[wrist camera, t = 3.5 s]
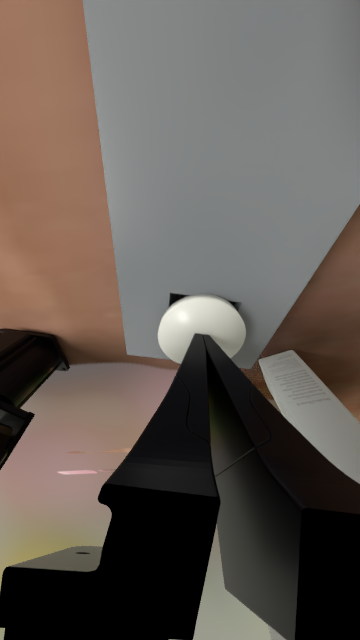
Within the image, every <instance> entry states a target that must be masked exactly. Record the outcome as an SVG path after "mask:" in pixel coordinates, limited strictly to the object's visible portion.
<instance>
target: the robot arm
mask: <svg viewBox="0 0 360 640" xmlns="http://www.w3.org/2000/svg"><path fill="white" fill-rule="evenodd" d="M69 368H70V367H69V365H68V363H67V361H66V359H65V357H64V355H63V353H62V351H61V349H60V347H59V345H58V343H57V341H56V339H55V337H54V336H52V335H49V334H41V333H32V332H24V331H16V330H7V329H0V470H1V468H2V467H3V465H4V464H5V462H6V461H7V459H8V457H9V456H10V454H11V452H12V451H13V449H14V447H15V446H16V444H17V443H18V441H19V440H20V438H21V436H22V435H23V433H24V431H25V430H26V428H27V427H28V425H29V423H30V422H31V420H32V419H33V417H34V415H35V414H33V413H31V412H27V411H24V410H22V409H20V408H21V406H23V404H24V403H25V402H26V401H27V400H28V399H29V398H30V397H31V396H32V395H33V394H34V393H35V392H36V391H37V389H38V388H39V387H40V386H41V385H42V384H43V383H44V382H45V381H46V379H48V378H49V377H50V375H51V374H52V373H53V372H54V371H55V370H60V371H67V370H68V369H69ZM98 501H99V502H100V503H101V504H104V505H107V506H108V507H109V508H110V510H111V512H112V518H111V521H110V525H109V528H108V531H107V535H106V538H105V542H104V545H103V547H94V546H77V547H71V548H67V549H64V550H61V551H58V552H54V553H51V554H48V555H45V556H41V557H38V558H35V559H32V560H28V561H25V562H22V563H18V564H15V565H12V566H9V567H6V568H5V570H4V571H3V575H2V583H1V591H0V628H5V634H4V640H168V639H177V640H193V636H194V631H195V625H196V620H197V616H198V610H199V606H200V601H201V596H202V591H203V586H204V582H205V577H206V572H207V567H208V562H209V557H210V552H211V548H212V543H213V537H214V533H215V529H216V524H217V528H218V536H219V543H220V544H219V545H220V553H221V561H222V568H223V577H224V584H225V589H226V590H227V591H228V592H230V593H231V594H232V595H233V596H234V597H236V598H237V599H238V600H239V601H240V602H242V603H243V604H244V605H245V606H246V607H247V608H249V609H250V610H251V611H252V612H253V613H255V614H256V615H257V616H258V617H259V618H261V619H262V620H263V621H264V622H265V623H267V624H268V627H269V633H270V637H271V640H360V484H359V483H358V482H356V481H355V480H353V479H352V478H350V477H349V476H347V475H346V474H345V473H344V472H342V471H341V470H340V469H338V468H337V467H336V466H335V465H334V464H332V463H331V462H330V461H329V460H328V459H327V458H326V457H325V456H324V455H323V454H321V453H320V452H319V451H318V450H317V449H316V448H315V447H314V446H313V445H312V444H311V443H310V442H309V441H308V440H307V439H306V438H305V437H304V436H303V435H302V434H301V433H300V432H299V431H298V430H297V429H296V428H295V427H294V426H293V425H292V424H291V423H290V422H289V421H288V420H287V419H286V418H285V417H284V416H283V415H282V414H281V413H280V412H279V411H277V409H276V408H275V407H274V406H273V405H272V404H271V403H270V402H269V401H268V400H267V399H266V398H265V397H264V396H263V394H262V393H261V392H260V391H259V390H258V389H257V388H256V387H255V386H254V385H252V382H251V381H250V380H249V379H248V378H247V377H246V376H245V374H244V373H243V372H242V371H241V370H240V369H239V368H238V367H237V365H236V364H235V363H234V362H233V361H232V360H231V359H230V358H229V357H228V355H227V354H226V353H225V352H224V351H223V350H222V349H221V348H220V346H219V345H218V344H217V343H216V342H215V341H214V340H213V339H212V337H211V336H210V335H207V334H199V333H195V334H194V336H193V338H192V340H191V342H190V345H189V347H188V349H187V351H186V354H185V356H184V358H183V360H182V362H181V365H180V367H179V369H178V371H177V374H176V376H175V378H174V380H173V382H172V384H171V386H170V388H169V390H168V392H167V394H166V396H165V397H164V399H163V401H162V402H161V404H160V406H159V407H158V409H157V411H156V412H155V414H154V415H153V417H152V418H151V420H150V422H149V423H148V425H147V426H146V428H145V429H144V431H143V433H142V434H141V436H140V437H139V439H138V441H137V442H136V443H135V445H134V446H133V448H132V449H131V451H130V452H129V453H128V455H127V456H126V458H125V459H124V460H123V462H122V463H121V464H120V465H119V467H118V468H117V469H116V470H115V471H114V473H113V474H112V475H111V476H110V478H109V479H108V480H107V481H106V482H105V483H104V485H103V486H102V488H101V491H100V493H99V496H98Z"/></svg>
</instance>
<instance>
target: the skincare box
mask: <svg viewBox="0 0 360 640" xmlns="http://www.w3.org/2000/svg"><path fill="white" fill-rule="evenodd" d="M258 361H259V364H260V367H261V370H262V373H263V376H264V379H265V382H266V385H267V386H268V388H269V390H270V392H271V394H272V396H273V398H274V400H275V401H276V403H277V405H278V407H279V409H280V411H281V412H282V415H283V416H284V417H285V418H286V419H287V420H288V421H289V422H290V423H291V424H292V425H293V426H294V427H295V428H296V429H297V430H298V431H299V432H300V433H301V434H302V435H303V436H304V437H305V438H306V439H307V440H308V441H309V442H310V443H311V444H312V445H313V446H314V447H315V448H316V449H317V450H318V451H319V452H320V453H321V454H323V455H324V456H325V457H326V458H327V459H328V460H329V461H330V462H331V463H332V464H334V465H335V466H336V467H337V468H338V469H340V470H341V471H342V472H344V473H345V474H346V475H347V476H349V477H350V478H352V479H353V480H355V481H356V482H358V483H359V484H360V422H359V421H358V420H357V419H356V418H355V417H354V416H353V415H352V414H351V413H350V412H349V410H348V409H347V408H346V407H345V406H344V405H343V404H342V403H341V402H340V401H339V399H338V398H337V397H336V396H335V395H334V394H333V393H332V392H331V391H330V390H329V389H328V387H327V386H326V385H325V384H324V383H323V382H322V381H321V380H320V379H319V378H318V377H317V375H316V374H315V373H314V372H313V371H312V370H311V369H310V368H309V367H308V366H307V365H306V363H305V362H304V361H303V360H302V359H301V358H300V357H299V356H298V355H297V354H296V353H295V351H293V350H289V351H285V352H282V353H279V354H275V355H272V356H268V357H265V358H261V359H259V360H258Z"/></svg>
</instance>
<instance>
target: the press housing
mask: <svg viewBox="0 0 360 640" xmlns="http://www.w3.org/2000/svg"><path fill="white" fill-rule="evenodd" d="M83 7H84V15H85V23H86V31H87V39H88V47H89V55H90V63H91V71H92V79H93V87H94V95H95V103H96V111H97V119H98V127H99V135H100V143H101V151H102V159H103V167H104V175H105V183H106V191H107V199H108V207H109V215H110V223H111V231H112V239H113V247H114V255H115V263H116V271H117V279H118V287H119V295H120V303H121V311H122V319H123V327H124V335H125V343H126V351H127V355H134V356H143V357H151V358H160V359H169V360H171V359H170V358H169V357H167V356H166V355H165V353H164V352H163V351H162V349H161V347H160V345H159V342H158V330H159V326H160V322H161V319H162V317H163V315H164V313H165V312H166V310H167V309H168V308H169V307H170V306H171V305H172V304H173V303H175V302H176V301H178V296H179V294H182V295H196V294H210V295H215V296H218V297H221V298H223V299H225V300H226V301H228V302H229V303H231V304H232V305H233V306H234V307H235V309H236V310H237V312H238V313H239V315H240V316H241V318H242V320H243V322H244V324H245V328H246V337H245V341H244V343H243V345H242V347H241V348H240V350H239V351H238V352H237V353H236V354H235V355H234V356H233V357H232V358H230V359H231V360H232V361H233V362H234V363H235V364H236V365H237V367H238V368H246V369H251V368H252V366H253V365H254V363H255V362H256V360H257V359H258V357H259V356H260V354H261V353H262V351H263V350H264V348H265V347H266V345H267V344H268V342H269V341H270V339H271V338H272V336H273V334H274V333H275V331H276V330H277V328H278V327H279V325H280V324H281V322H282V321H283V319H284V318H285V316H286V315H287V313H288V312H289V310H290V309H291V307H292V306H293V304H294V303H295V301H296V300H297V298H298V297H299V295H300V294H301V292H302V291H303V289H304V288H305V286H306V285H307V283H308V282H309V280H310V278H311V277H312V275H313V274H314V272H315V271H316V269H317V268H318V266H319V265H320V263H321V262H322V260H323V259H324V257H325V256H326V254H327V253H328V251H329V250H330V248H331V247H332V245H333V244H334V242H335V241H336V239H337V238H338V236H339V235H340V233H341V232H342V230H343V229H344V227H345V226H346V224H347V223H348V221H349V219H350V218H351V216H352V215H353V213H354V212H355V210H356V209H357V207H358V206H359V204H360V0H83Z"/></svg>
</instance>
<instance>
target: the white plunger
mask: <svg viewBox="0 0 360 640" xmlns="http://www.w3.org/2000/svg"><path fill="white" fill-rule="evenodd" d="M195 333H199V334H207V335H210V336H211V337H212V339H213V340H214V341H215V342H216V343H217V344H218V345H219V346H220V348H221V349H222V350H223V351H224V352H225V353H226V354H227V355H228V357H229V358H232V357H233V356H234V355H235V354H236V353H237V352H238V351H239V350H240V348H241V347H242V345H243V343H244V341H245V337H246V328H245V324H244V322H243V320H242V318H241V316H240V315H239V313H238V312H237V310H236V309H235V307H234V306H233V305H232V304H231V303H229V302H228V301H226V300H225V299H223V298H221V297H218V296H215V295H210V294H196V295H182V294H179V296H178V301H176V302H175V303H173V304H172V305H171V306H170V307H169V308H168V309H167V310H166V312H165V313H164V315H163V317H162V319H161V322H160V326H159V330H158V342H159V345H160V347H161V349H162V351H163V352H164V353H165V355H166V356H167V357H169V358H170V359H171V360H173V361H175V362H176V363H179V364H181V362H182V360H183V358H184V356H185V354H186V351H187V349H188V347H189V345H190V342H191V340H192V338H193V336H194V334H195Z"/></svg>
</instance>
